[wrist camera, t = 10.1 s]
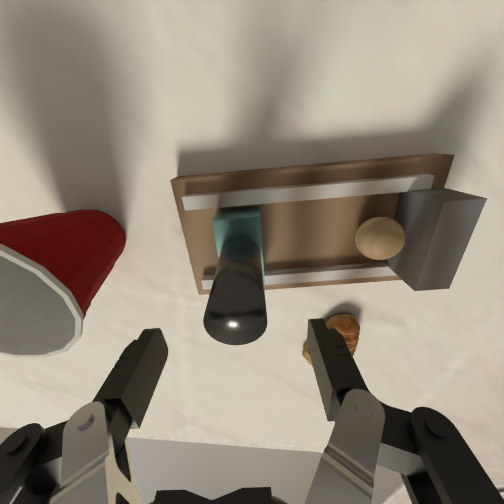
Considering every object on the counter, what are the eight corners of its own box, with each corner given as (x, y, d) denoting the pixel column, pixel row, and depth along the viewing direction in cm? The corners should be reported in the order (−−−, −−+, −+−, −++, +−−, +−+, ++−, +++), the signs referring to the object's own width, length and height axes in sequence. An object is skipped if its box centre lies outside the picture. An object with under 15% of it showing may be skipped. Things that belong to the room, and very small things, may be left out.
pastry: (323, 305, 29) (333, 326, 26) (367, 314, 30) (382, 336, 27) (298, 350, 33) (303, 374, 30) (337, 357, 34) (347, 381, 31)
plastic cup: (81, 282, 27) (-31, 376, 16) (24, 196, 22) (-189, 249, 11) (164, 269, 26) (105, 358, 15) (125, 177, 21) (-1, 214, 10)
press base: (436, 153, 20) (518, 159, 14) (403, 269, 26) (450, 309, 20) (177, 176, 21) (146, 192, 15) (202, 284, 27) (188, 327, 21)
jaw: (258, 206, 20) (267, 267, 10) (263, 269, 23) (273, 361, 14) (216, 209, 20) (186, 274, 11) (226, 272, 24) (210, 365, 14)
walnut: (392, 209, 21) (422, 223, 17) (384, 246, 23) (409, 266, 19) (351, 213, 21) (371, 227, 17) (346, 249, 23) (364, 269, 19)
